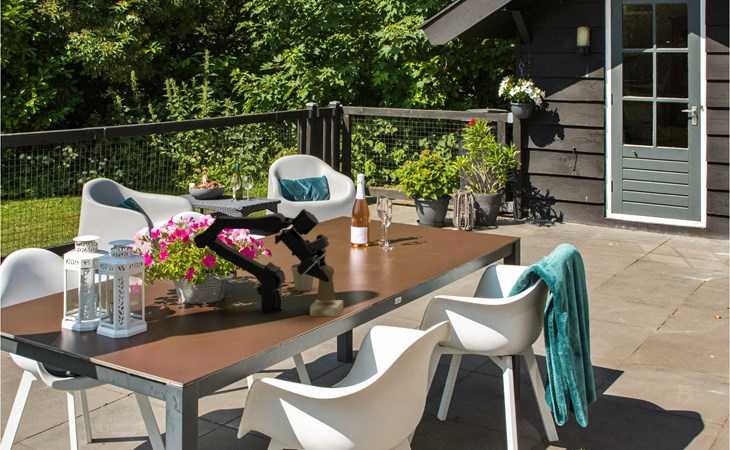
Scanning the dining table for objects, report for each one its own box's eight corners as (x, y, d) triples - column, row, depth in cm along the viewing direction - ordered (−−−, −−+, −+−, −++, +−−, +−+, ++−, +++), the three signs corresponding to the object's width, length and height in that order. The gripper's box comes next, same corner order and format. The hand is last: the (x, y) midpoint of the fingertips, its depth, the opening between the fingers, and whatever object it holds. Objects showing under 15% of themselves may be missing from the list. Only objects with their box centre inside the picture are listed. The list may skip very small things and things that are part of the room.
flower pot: (316, 292, 337) (315, 268, 336) (289, 292, 338) (288, 268, 336) (317, 286, 347) (317, 262, 345) (291, 286, 347) (291, 263, 345)
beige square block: (310, 315, 308) (310, 306, 308) (316, 308, 317) (316, 299, 316) (337, 316, 307) (337, 307, 306) (343, 309, 315) (343, 300, 315)
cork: (331, 295, 315) (331, 263, 313) (337, 300, 309) (337, 267, 307) (314, 297, 313) (314, 264, 311) (320, 302, 307) (320, 268, 305)
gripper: (306, 233, 298) (341, 269, 299) (320, 222, 317) (353, 256, 317) (282, 256, 301) (316, 292, 301) (297, 245, 319) (329, 278, 319)
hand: (330, 279), depth 310 cm, fingers closed on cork, 5 cm apart
